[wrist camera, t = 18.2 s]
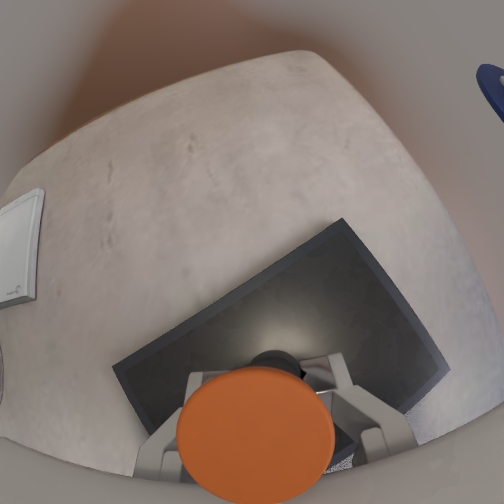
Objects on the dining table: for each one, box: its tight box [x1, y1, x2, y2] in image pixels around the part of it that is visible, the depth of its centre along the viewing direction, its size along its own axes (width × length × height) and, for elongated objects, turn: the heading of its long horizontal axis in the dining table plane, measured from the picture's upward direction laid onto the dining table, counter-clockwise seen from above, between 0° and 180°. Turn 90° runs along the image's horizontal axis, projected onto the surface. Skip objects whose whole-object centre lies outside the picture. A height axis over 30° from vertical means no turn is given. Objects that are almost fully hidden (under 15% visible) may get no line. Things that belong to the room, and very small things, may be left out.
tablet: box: [112, 218, 450, 471], centre depth 17 cm, size 20×14×1 cm
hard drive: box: [0, 187, 45, 309], centre depth 23 cm, size 2×8×12 cm
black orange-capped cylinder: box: [176, 350, 335, 504], centre depth 10 cm, size 3×3×14 cm
